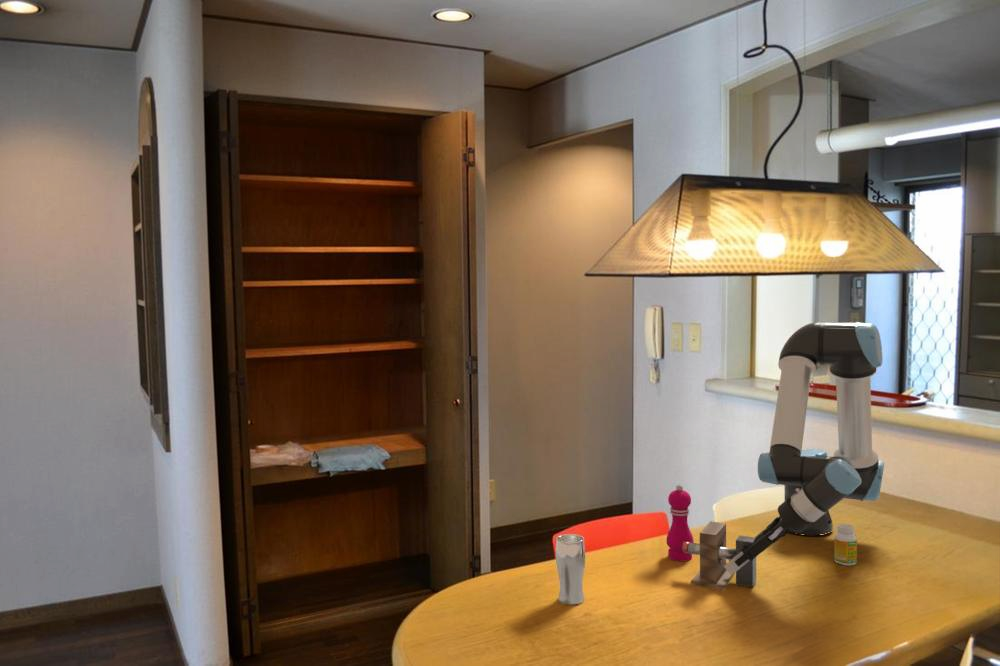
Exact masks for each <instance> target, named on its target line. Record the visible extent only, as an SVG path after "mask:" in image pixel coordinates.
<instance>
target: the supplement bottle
mask: <svg viewBox="0 0 1000 666" xmlns="http://www.w3.org/2000/svg"><path fill="white" fill-rule="evenodd" d="M836 527H837V532H835V534H834V538H833V539H834V545H833V546H834V552H833V553H834V556H833V557H834V558H833V559H834V562H835V563H837V564H838V563H839V564H838V565H841V564H842V565H843V566H854V565H856V564H857V562H858V537H857V535H856V534H855V526H854V525H852V524H849V523H838V524H837V526H836ZM842 565H841V566H842Z"/></svg>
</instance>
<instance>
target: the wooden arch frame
mask: <svg viewBox="0 0 1000 666" xmlns="http://www.w3.org/2000/svg"><path fill="white" fill-rule="evenodd" d="M699 544H700V555H699V570H698V572H697V573H696V574H695V576H694V577H693V578H692V579H691V580H690V585H693V586H696V587H697V586H698V587H705V588H709V589H715V590H721V591H724V590H725V589H726V587H727V586H728V584H729V583H730V582H731V580H732V578H733V577H734V575H736V572H735V573H734V574H732V575H731V574H730V573H729V572H728V571H727V570H726V569H725V568H724V565H725V564H727V559H721V558H719V547H725V548H727V523H725V522H719V521H712V520H710V521H709V522H708V523H707V524H706V526H704V527H703V529H702V530H701V531H700V532H699Z"/></svg>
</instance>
